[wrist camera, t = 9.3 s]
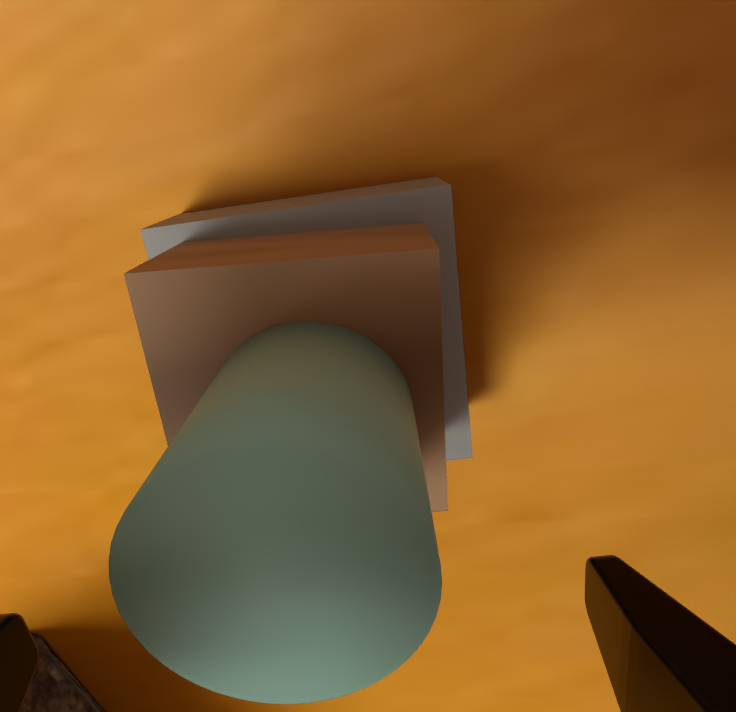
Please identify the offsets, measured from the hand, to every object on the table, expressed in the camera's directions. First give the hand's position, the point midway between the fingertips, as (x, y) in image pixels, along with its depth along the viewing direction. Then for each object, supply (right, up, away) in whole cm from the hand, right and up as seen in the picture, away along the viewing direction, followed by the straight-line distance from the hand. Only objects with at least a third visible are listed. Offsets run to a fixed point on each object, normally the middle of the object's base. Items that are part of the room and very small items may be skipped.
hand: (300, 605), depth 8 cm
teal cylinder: (0, +2, +5) cm, 5 cm away
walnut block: (-1, +4, +8) cm, 9 cm away
